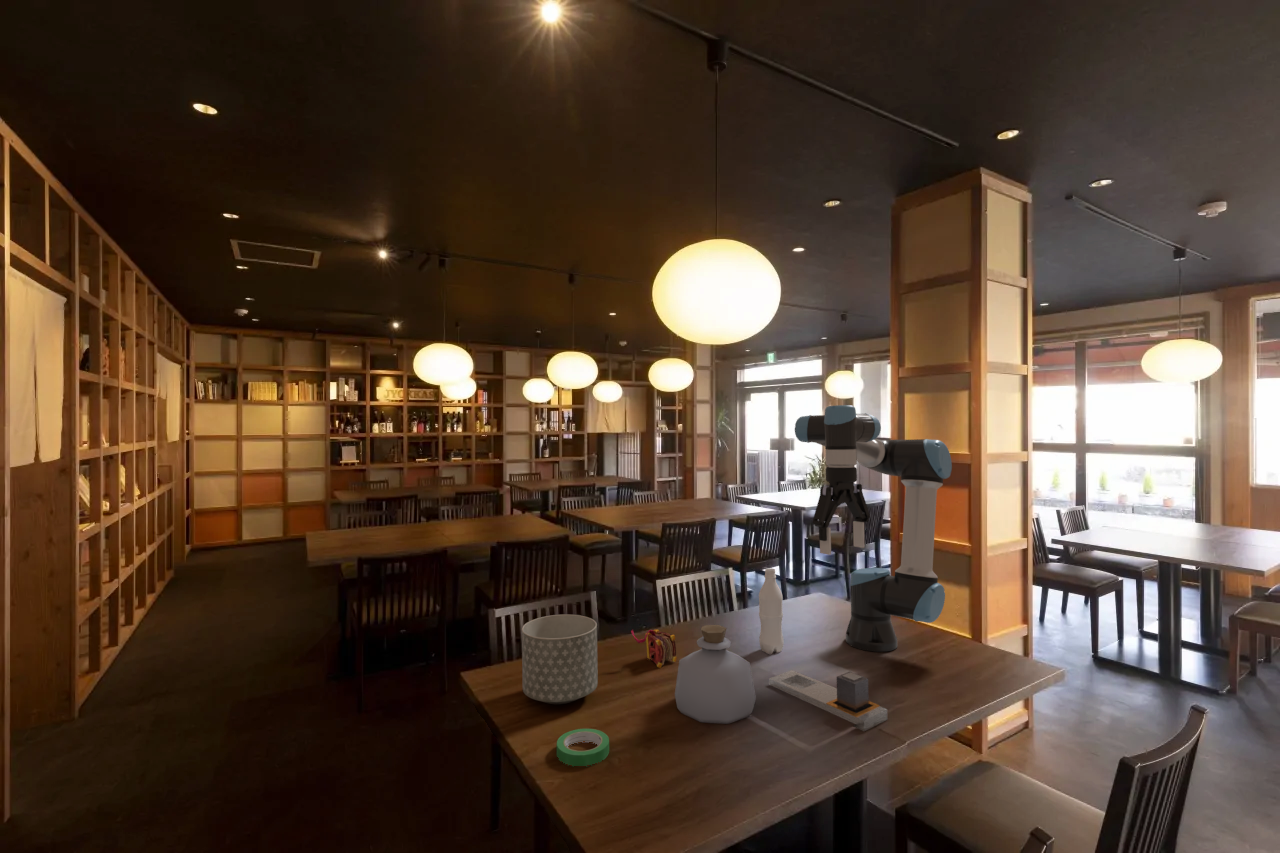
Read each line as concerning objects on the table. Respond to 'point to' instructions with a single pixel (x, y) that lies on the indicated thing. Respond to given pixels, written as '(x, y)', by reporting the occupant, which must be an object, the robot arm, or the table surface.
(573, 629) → the planter
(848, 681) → the grey tall square block
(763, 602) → the water bottle
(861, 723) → the rail
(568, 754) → the tape roll
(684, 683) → the bottle
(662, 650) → the book monster
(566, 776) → the table surface
